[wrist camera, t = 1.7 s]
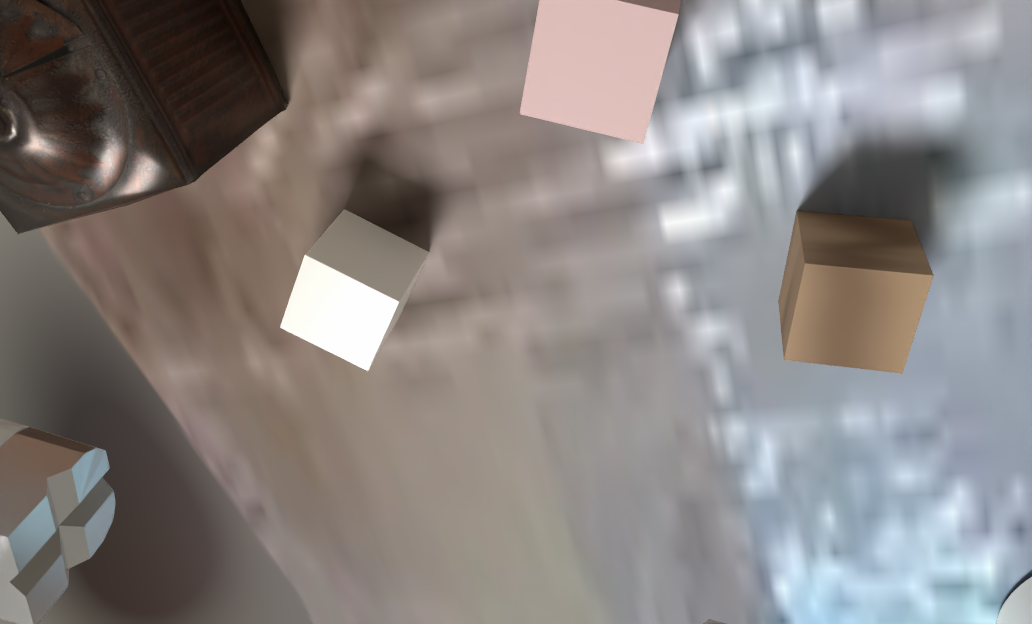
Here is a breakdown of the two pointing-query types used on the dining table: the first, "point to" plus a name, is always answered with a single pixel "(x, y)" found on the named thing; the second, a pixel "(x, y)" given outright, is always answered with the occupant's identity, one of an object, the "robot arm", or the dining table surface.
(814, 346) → the walnut block
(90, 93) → the manual coffee grinder
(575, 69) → the dusty-rose block
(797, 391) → the dining table surface
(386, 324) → the off-white block
